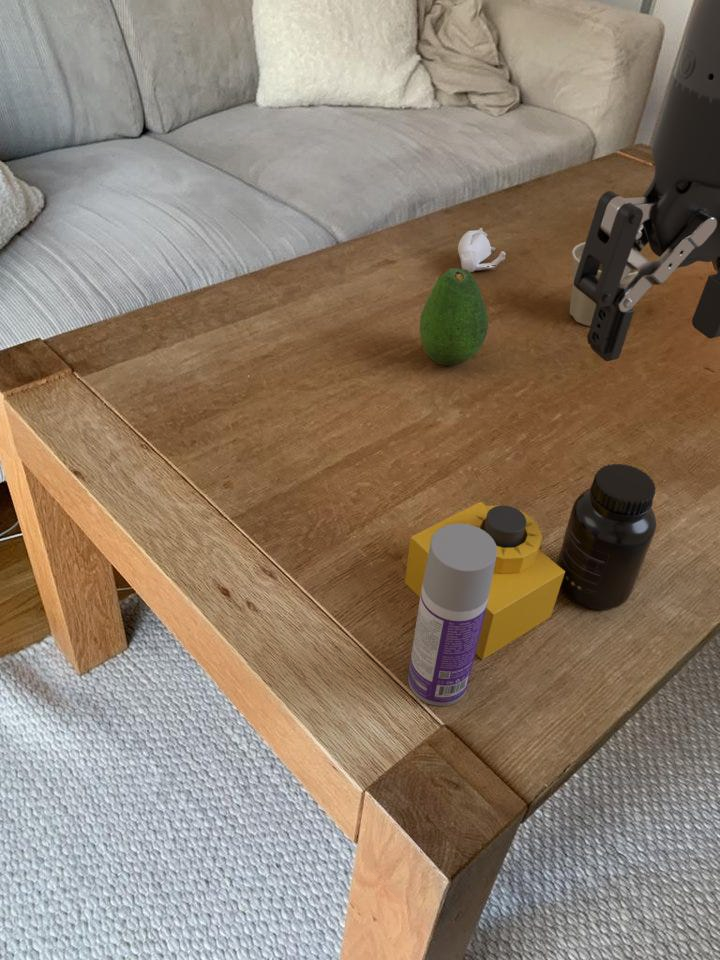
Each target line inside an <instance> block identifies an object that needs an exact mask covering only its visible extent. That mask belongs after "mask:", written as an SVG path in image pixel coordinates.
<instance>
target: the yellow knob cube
mask: <svg viewBox="0 0 720 960" xmlns="http://www.w3.org/2000/svg"><path fill="white" fill-rule="evenodd" d="M496 506H497V505H486V504H485V503H484V502H483V501H480V502H476V503H475V504H473V505H471V506H469V507H467V508H465V509H463V510H461V511H459V512H457V513H454V514H453V515H451V516H449V517H447V518H445V519H443V520H441V521H440V522H436V523H435V524H433V525H431V526H429V527H427V528H425V529H423V530H421V531H420V532H417V533H415V534H413V535H411V536H410V539H409V548H408V553H407V563H406V569H405V570H406V571H405V576H404V577H405V578H404V583H405V585H406V586H407V587H408V588H409V589H410V590H411V591H412V592H414V594H416V596H418V598H420V596H421V589H422V585H423V579H424V574H425V569H426V564H427V559H428V554H429V549H430V544H431V539H432V537H433V535H434V533H435V532H436V531H437V530H439V529H440V528H442V527H444V526H447V525H450V524H468V525H472V526H475V527H478V528H480V529H482V530H484V526H485V521H486V516H487V513H488V511H489V510H490V509H492V508H493V507H496ZM502 506H505V505H503V504H502ZM518 510H519V511H521V512H522V513H523V514H524V516H525V518H526V527H525V531H524V535H523V539H522V541H521V542H520V544H518V545H517V546H515V547H511V548H502V547H499V546H497V556H496V561H495V566H494V571H493V577H492V582H491V587H490V592H489V597H488V603H487V607H486V611H485V615H484V620H483V624H482V628H481V632H480V636H479V640H478V645H477V649H476V653H475V655H476V656H477V657H479V659H481V660H482V661H483V660H486V659H487V658H488V657H490V656H491V655H492V654H494V653H496V652H497V651H498V650H501V649H502V648H504V647H506V646H507V645H509V644H510V643H511V642H514V641H515V640H516V639H518V638H520V637H521V636H523V635H525V634H526V633H528V632H529V631H531V630H532V629H534V628H535V627H537V626H539V625H540V624H542V623H543V622H545V621H547V620H549V619H550V618H552V615H553V611H554V608H555V605H556V601H557V599H558V595H559V592H560V590H561V589H560V586H561V583H562V580H563V577H564V574H565V571H564V570H563V569H562V568H560V567H559V566H558V565H557V562H554V561H553V560H552V559H551V558H550V557H548V555H546V554H545V553H544V552H543V551H542V550H540V549H541V544H542V541H543V535H542V532H541V528H540V527H539V524H538V522H537V521H536V520H534V519H533V518H532V517H531V516H530V515H528V514H527V513H526V512H524V511H522V510H520V509H518Z"/></svg>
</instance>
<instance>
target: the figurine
mask: <svg viewBox="0 0 720 960" xmlns="http://www.w3.org/2000/svg"><path fill="white" fill-rule="evenodd" d="M487 236H488V234H487V233H486V232H485V231H484V228H483V227H479V229H476V230H468V231H466V233H464V234H463V235H462V237H461V238H460V240H459V242H458V246H457V252H458V256H459V259H460V265H461V269H465V270H468V271H469V272H470V273H474V272H479V271H489V270H493V269H495V268H496V267H497V266H498V265H499V264H500V263H502V262H504V261H505V260H506V252H505V251H502V250H501V252H500V253H499V255H498V257H496V258H495V259H494V260H493V261H490V262H491V263H490V262H484V263H483V261H484V260H486V259H487V258H488V257H490V255H491V254H492V252H495V251H496V247H493V246H491V243H490V240H489V238H488V237H487ZM481 262H482V263H481ZM492 265H496V266H492ZM487 266H489V267H487Z"/></svg>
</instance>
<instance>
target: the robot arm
mask: <svg viewBox="0 0 720 960" xmlns="http://www.w3.org/2000/svg"><path fill="white" fill-rule="evenodd" d="M683 36H684V37H683V39H682V43H681V46H680V49H679V53H678V55H677V56H678V57H677V60H676V64H675V67H674V71H673V74H672V77H671V80H670V84H669V87H668V90H667V95H666V98H665V101H664V103H663V104H664V105H663V108H662V111H661V115H660V118H659V122H658V125H657V129H656V132H655V135H654V138H653V142H652V145H651V155H652V159H653V163H654V175H653V178H652V180H651V182H650V184H649V186H648V187H647V189H646V190H645V192H644V193H643V194H642V196H639V197H637V196H636V197H623V196H621V195H619V194H618V193H617V192H615V191H613V190H608V191H605V192H604V193H602V194H601V196H600V197H599V199H598V201H597V204H596V208H595V211H594V213H593V218H592V220H591V224H590V227H589V231H588V234H587V237H586V239H585V242H586V243H585V246H584V249H583V253H582V256H581V259H580V262H579V266H578V269H577V272H576V275H575V278H574V277H573V278H574V286H575V287H576V288H577V289H578V290H580V291H581V292H582V293H583V294H585V295H586V296H587V297H588V298H590V299H591V300H592V301H593V302H595V303H596V308H595V311H594V315H593V318H592V323H591V325H590V326H589V329H588V332H587V335H586V336H587V337H586V338H587V343H588V344H589V346H590V349H591V350H592V351H593V352H594V353H595V354H596V355H598V356H599V358H601V359H602V360H603V361H605V362H610V361H614V360H615V361H616V360H618V359H619V358H620V357H621V353H622V350H623V347H624V344H625V341H626V338H627V335H628V332H629V328H630V325H631V323H632V319H633V317H634V313H635V310H634V309H633V308H634V306H636V304H638V302H639V301H640V300H641V299H642V298H643V297H644V296H645V294H646V293H647V292H648V291H649V290H650V289H651V287H653V286H659V285H662V284H664V283H665V282H666V281H667V280H668V278H670V276H671V275H672V274H673V273H674V272H675V270H677V268H682V267H688V266H690V265H692V264H694V263H696V262H702V263H703V262H705V263H712V267H713V270H714V271H715V272H716V273H713V274H709V275H708V276H707V280H706V282H705V284H704V287H703V290H702V292H701V295H700V298H699V300H698V303H697V305H696V307H695V311H694V314H693V317H692V320H691V324H692V327H693V328H694V329H695V330H697V331H699V332H700V334H702V335H703V336H704V337H706V338H708V339H714V338H715V339H716V338H719V337H720V0H696V3H695V5H694V7H693V10H692V12H691V14H690V17H689V19H688V23H687V26H686V29H685V32H684V35H683ZM647 244H648V245H649V248H650V249H651V251H652V253H653V254H655V255H656V256H658V258H657V259H655V260H650V259H648V258H647V257H645V256H644V255H642V254H641V253H642V250H643V249H644V248H645V247H646V246H647ZM600 264H602V272H601V275H597V273H598V270H599V267H600ZM632 270H637V271H638V273H637V275H636V276H635V277H634V278H633V279H632V281H631V282H630V283H629V284H628V285H627V286H626V287H624V286H623V285H621V284H620V283H621V282H622V281H623V280H624V278H625V277H626V276H627V275H628V274H629V273H630V272H631V271H632Z"/></svg>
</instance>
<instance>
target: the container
mask: <svg viewBox="0 0 720 960" xmlns="http://www.w3.org/2000/svg"><path fill="white" fill-rule="evenodd" d="M496 556H497V546H496V543H495V541H494V540H493V538H492V537H491V536H490V535H489V534H488V533H487V532H485V531H484V530H482V529H480V528H478V527H475V526H472V525H468V524H450V525H447V526H444V527H442V528H440V529H439V530H437V531H436V532H435V533H434V535H433V537H432V539H431V544H430V549H429V554H428V559H427V564H426V569H425V574H424V579H423V585H422V589H421V596H420V597H419V601H418V609H417V616H416V623H415V630H414V635H413V642H412V649H411V654H410V662H409V669H408V675H407V682H408V686H409V688H410V691H412V693H413V695H415V696H416V698H418V699H419V700H420V701H422V702H423V703H425V704H427V705H431V706H434V707H435V706H436V707H447V706H451V705H454V704H455V703H457V702H459V701H460V700H461V699H462V698H463V697H464V696H465V694H466V692H467V689H468V686H469V681H470V677H471V674H472V671H473V670H472V669H473V665H474V662H475V658H476V649H477V645H478V640H479V636H480V632H481V628H482V624H483V620H484V615H485V611H486V607H487V603H488V597H489V592H490V587H491V582H492V577H493V571H494V566H495V561H496Z"/></svg>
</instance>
